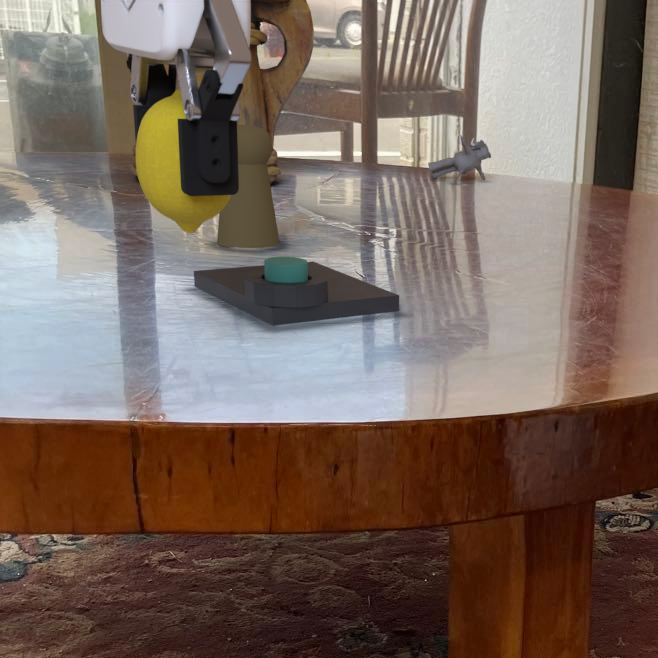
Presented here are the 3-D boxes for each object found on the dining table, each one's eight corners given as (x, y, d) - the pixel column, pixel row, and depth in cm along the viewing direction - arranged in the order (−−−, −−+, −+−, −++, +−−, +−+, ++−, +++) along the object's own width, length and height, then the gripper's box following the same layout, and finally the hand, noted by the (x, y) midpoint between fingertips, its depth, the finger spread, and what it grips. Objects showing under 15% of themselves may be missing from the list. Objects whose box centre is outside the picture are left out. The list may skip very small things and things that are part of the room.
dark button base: (269, 329, 82) (267, 288, 80) (188, 288, 92) (185, 251, 90) (403, 314, 88) (403, 276, 87) (313, 277, 98) (313, 242, 97)
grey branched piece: (441, 175, 168) (497, 157, 166) (445, 208, 166) (502, 190, 164) (415, 134, 159) (474, 114, 157) (419, 168, 157) (479, 149, 155)
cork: (204, 244, 108) (197, 124, 104) (238, 235, 114) (233, 120, 109) (259, 251, 107) (254, 130, 102) (291, 242, 112) (288, 126, 107)
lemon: (122, 235, 64) (111, 85, 61) (168, 220, 69) (160, 81, 66) (212, 246, 63) (206, 96, 60) (252, 230, 68) (249, 91, 65)
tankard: (140, 168, 153) (123, -36, 142) (315, 175, 158) (311, -22, 147) (123, 187, 137) (103, -41, 126) (318, 194, 142) (314, -25, 131)
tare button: (277, 287, 82) (276, 266, 82) (257, 278, 84) (256, 258, 84) (315, 284, 84) (315, 263, 84) (295, 275, 86) (295, 255, 86)
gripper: (40, -182, 61) (71, 163, 69) (164, -205, 49) (185, 214, 57) (173, -160, 65) (188, 162, 73) (316, -176, 54) (316, 209, 61)
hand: (187, 181), depth 65 cm, fingers closed on lemon, 5 cm apart
